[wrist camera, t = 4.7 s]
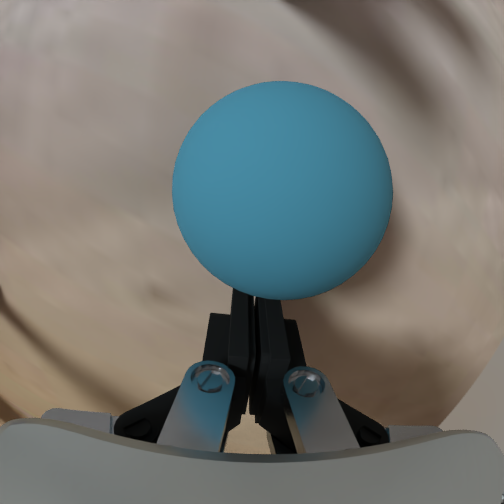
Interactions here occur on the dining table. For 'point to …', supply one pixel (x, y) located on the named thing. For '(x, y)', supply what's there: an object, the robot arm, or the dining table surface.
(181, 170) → the ball
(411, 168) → the dining table surface
